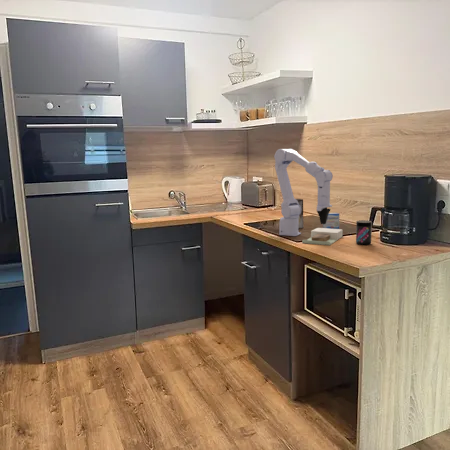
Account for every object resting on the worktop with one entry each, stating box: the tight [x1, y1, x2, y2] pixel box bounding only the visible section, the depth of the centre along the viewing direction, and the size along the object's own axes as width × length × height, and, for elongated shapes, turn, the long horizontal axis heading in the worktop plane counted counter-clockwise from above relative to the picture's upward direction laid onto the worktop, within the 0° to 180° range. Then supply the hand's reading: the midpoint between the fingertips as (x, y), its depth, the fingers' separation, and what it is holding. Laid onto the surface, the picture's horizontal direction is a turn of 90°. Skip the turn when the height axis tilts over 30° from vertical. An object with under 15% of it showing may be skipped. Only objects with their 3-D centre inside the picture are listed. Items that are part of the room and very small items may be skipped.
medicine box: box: [322, 212, 340, 229], centre depth 228 cm, size 8×4×9 cm, turn 101°
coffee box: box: [295, 198, 304, 229], centre depth 234 cm, size 9×6×16 cm
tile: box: [312, 234, 330, 242], centre depth 199 cm, size 6×9×2 cm, turn 150°
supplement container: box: [355, 219, 373, 246], centre depth 190 cm, size 7×7×10 cm
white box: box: [310, 227, 343, 241], centre depth 207 cm, size 13×10×4 cm
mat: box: [301, 236, 338, 246], centre depth 198 cm, size 13×12×2 cm
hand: (323, 223), depth 201 cm, fingers closed
